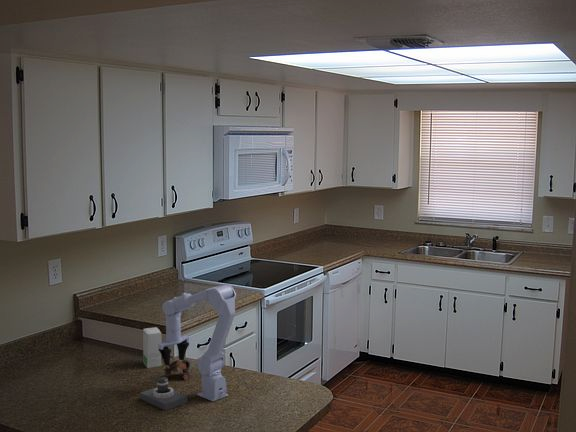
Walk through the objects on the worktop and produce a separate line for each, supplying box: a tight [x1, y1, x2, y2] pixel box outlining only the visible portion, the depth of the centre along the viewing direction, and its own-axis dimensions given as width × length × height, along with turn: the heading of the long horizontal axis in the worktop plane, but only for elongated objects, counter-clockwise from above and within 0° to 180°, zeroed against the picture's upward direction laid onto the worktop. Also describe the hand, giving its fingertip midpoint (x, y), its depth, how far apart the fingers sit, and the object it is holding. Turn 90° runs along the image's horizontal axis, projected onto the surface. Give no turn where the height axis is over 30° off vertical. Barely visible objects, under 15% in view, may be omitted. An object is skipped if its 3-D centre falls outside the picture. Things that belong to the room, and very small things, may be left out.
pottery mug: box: [163, 359, 191, 381], centre depth 280 cm, size 12×10×8 cm
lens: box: [156, 376, 169, 394], centre depth 254 cm, size 4×4×6 cm
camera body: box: [139, 386, 188, 411], centre depth 254 cm, size 16×10×4 cm, turn 46°
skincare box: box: [142, 326, 162, 369], centre depth 294 cm, size 8×7×16 cm
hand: (174, 362), depth 268 cm, fingers open, 7 cm apart
